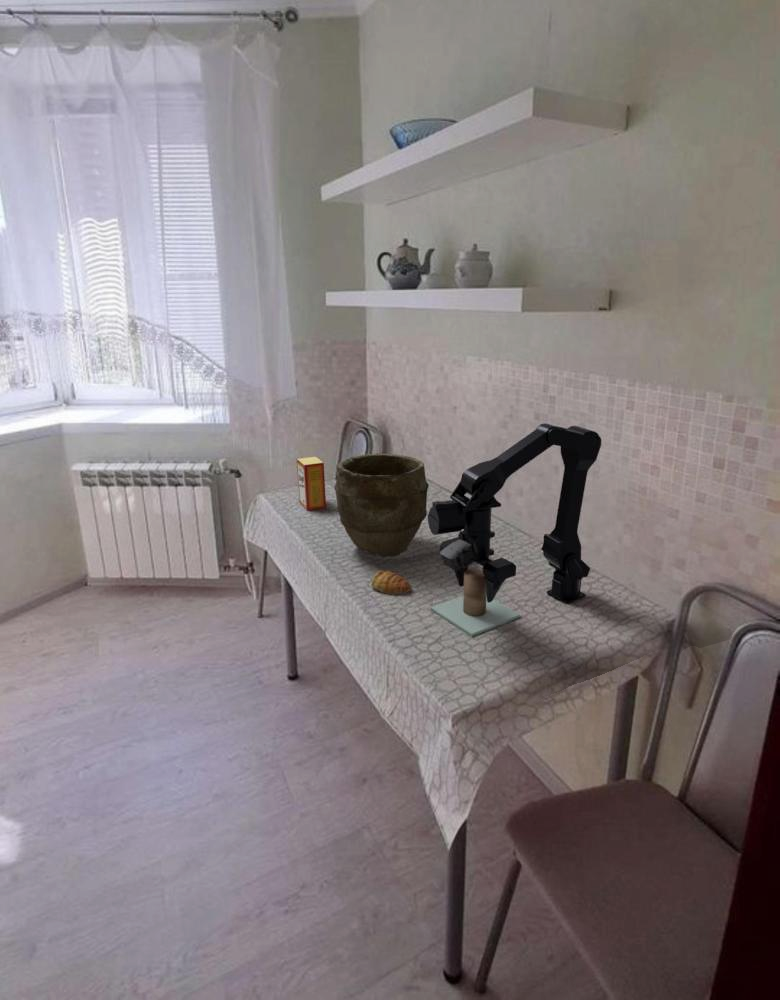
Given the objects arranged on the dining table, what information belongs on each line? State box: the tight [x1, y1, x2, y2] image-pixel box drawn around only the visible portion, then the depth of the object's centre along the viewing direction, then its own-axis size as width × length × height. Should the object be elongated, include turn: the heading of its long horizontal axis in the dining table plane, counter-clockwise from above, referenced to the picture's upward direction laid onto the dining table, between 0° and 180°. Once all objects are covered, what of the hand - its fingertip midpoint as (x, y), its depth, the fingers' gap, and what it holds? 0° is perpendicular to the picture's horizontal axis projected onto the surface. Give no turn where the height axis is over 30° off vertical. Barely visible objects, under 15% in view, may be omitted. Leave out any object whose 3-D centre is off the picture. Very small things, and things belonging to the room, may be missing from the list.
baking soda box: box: [296, 455, 327, 512], centre depth 206 cm, size 10×6×16 cm
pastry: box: [371, 570, 412, 595], centre depth 148 cm, size 9×7×4 cm
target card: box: [429, 595, 521, 637], centre depth 137 cm, size 14×14×1 cm
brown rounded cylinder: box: [463, 568, 487, 616], centre depth 135 cm, size 5×5×9 cm
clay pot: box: [333, 452, 430, 558], centre depth 169 cm, size 25×25×25 cm
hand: (475, 593), depth 135 cm, fingers open, 9 cm apart
